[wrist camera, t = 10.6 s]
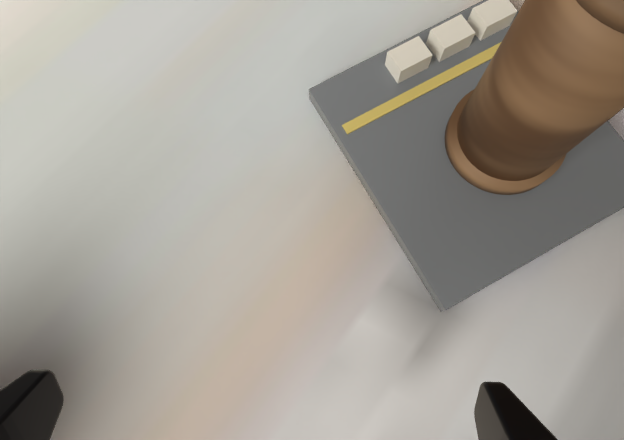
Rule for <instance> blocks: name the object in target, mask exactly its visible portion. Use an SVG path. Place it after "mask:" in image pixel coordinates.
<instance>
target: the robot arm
mask: <svg viewBox="0 0 624 440" xmlns="http://www.w3.org/2000/svg"><path fill="white" fill-rule="evenodd" d="M62 406H63V394H62V391H61V389H60V387H59V384H58V382H57V380H56V377H55V375H54V373H53V372H52V371H50V370H30V371H28V372H27V373H25V374H24V375H22V376H21V377H19V378H18V379H16V380H15V381H14V382H12V383H11V384H9V385H8V386H6V387H5V388H3V389H2V390H1V391H0V440H50V438H51V435H52V432H53V430H54V427H55V425H56V422H57V419H58V417H59V414H60V412H61V409H62ZM474 415H475V422H476V428H477V433H478V438H479V440H557V439H556V437H555V436H554V435H553V434H552V433H551V432H550V431H549V430H548V429H547V428H546V427H545V426H544V425H543V424H542V423H541V422H540V421H539V420H538V419H537V417H536V416H535V415H534V414H533V413H532V412H531V411H530V410H529V409H528V408H527V407H526V406H525V405H524V404H523V403H522V402H521V401H520V400H519V399H518V398H517V396H516V395H515V394H514V393H513V392H512V391H511V390H510V389H509V388H508V387H507V386H506V385H505V384H503V383H501V382H483V383H482V384H481V386H480V389H479V393H478V397H477V401H476V405H475V411H474Z"/></svg>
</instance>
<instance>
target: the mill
mask: <svg viewBox="0 0 624 440" xmlns="http://www.w3.org/2000/svg"><path fill="white" fill-rule="evenodd" d="M623 108H624V0H525V2H524V3H523V5H522V7H521V9H520V10H519V12H518V14H517V16H516V17H515V19H514V21H513V23H512V24H511V26H510V28H509V30H508V31H507V33H506V35H505V37H504V39H503V40H502V42H501V44H500V46H499V47H498V49H497V51H496V53H495V54H494V56H493V58H492V60H491V61H490V63H489V65H488V67H487V68H486V70H485V72H484V74H483V75H482V77H481V79H480V81H479V82H478V84H477V86H476V88H475V89H474V90H472V91H470V92H469V93H468V94H466V95H465V96H464V97H463V98H462V99H461V100H460V102H459V103H458V104H457V106H456V107H455V109H454V111H453V113H452V115H451V116H450V118H449V121H448V123H447V126H446V130H445V148H446V152H447V155H448V158H449V160H450V162H451V164H452V166H453V167H454V168H455V170H456V171H457V172H458V173H459V175H460V176H461V177H462V178H464V179H465V180H466V181H467V182H469V183H470V184H471V185H473V186H475V187H477V188H479V189H481V190H483V191H486V192H489V193H493V194H500V195H513V194H520V193H524V192H527V191H529V190H532V189H534V188H535V187H537V186H539V185H540V184H541V183H543V182H544V181H545V180H547V179H548V178H549V177H551V176H552V175H553V174H554V173H555V172H556V171H557V170H558V169H559V167H560V166H561V165H562V163H563V161H564V159H565V157H566V153H568V152H569V151H570V150H571V149H573V148H574V147H575V146H576V145H578V144H579V143H580V142H581V141H583V140H584V139H585V138H586V137H588V136H589V135H590V134H592V133H593V132H594V131H595V130H597V129H598V128H599V127H600V126H602V125H603V124H604V123H605V122H607V121H608V120H609V119H610V118H612V117H613V116H614V115H615V114H617V113H618V112H619V111H620V110H622V109H623Z"/></svg>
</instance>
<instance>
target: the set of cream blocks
mask: <svg viewBox="0 0 624 440" xmlns="http://www.w3.org/2000/svg"><path fill="white" fill-rule="evenodd" d="M517 12H518V11H517V9H516V8H515V7H514V6H513V4H512V3H511V2H510V1H509V0H488V1H486V2H484V3H482V4H480V5H478V6H476V7H474V8H473V9H472V11H471V13H470V16H469V18H468V20H467V21H466V20H465V18H464V17H463V16H462V14H460V15H458V16H456V17H454V18H453V19H451V20H449V21H447V22H445V23H443V24H441V25H439V26H437V27H435V28H433V29H431V30H430V33H429V36H428V39H427V42H426V44H427V46H428V47H429V49H430V50H431V51H432V53H433V54H434V55H435V57H436V58H437V60H438V61H439V62H441V61H442V60H444V59H446V58H448V57H450V56H452V55H454V54H456V53H458V52H460V51H462V50H464V49H466V48H468V47H469V46H470V44H471V42H472V39H473V37H474V35H476V36H477V37H478V39H479V40H480V41H481V40H483V39H485V38H487V37H489V36H491V35H493V34H495V33H496V32H498V31H500V30H502V29H504V28H506V27H508V26H510V24H511V22H512V20H513V19H514V17H515V15H516V13H517ZM427 46H426V45H425V44H424V42H423V41H422V40H421V38H420V37H419V36H417V37H415V38H413V39H411V40H409V41H407V42H405V43H404V44H402V45H400V46H398V47H396V48H394V49H392V50H390V51H388V52H387V56H386V61H385V66H386V67H387V69H388V70H389V72H390V73H391V75H392V76H393V78H394V79H395V81H396V82H397V83H400V82H402V81H404V80H406V79H408V78H410V77H412V76H414V75H415V74H417V73H419V72H421V71H423V70H425V69H427V68H428V67H429V64H430V61H431V58H432V53H431V52H430V51H429V49H428V48H427Z"/></svg>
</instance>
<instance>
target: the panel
mask: <svg viewBox="0 0 624 440" xmlns="http://www.w3.org/2000/svg"><path fill="white" fill-rule="evenodd" d="M486 1H488V0H483V1H481V2H479V3H477V4H475V5H473V6H471V7H469V8H467V9H465V10H464V11H462V12H460V13H458V14H456V15H454V16H452V17H450V18H448V19H446V20H444V21H442V22H440V23H438V24H436V25H434V26H432V27H430V28H428V29H426V30H424V31H422V32H420V33H418V34H416V35H414V36H413V37H411V38H409V39H407V40H405V41H403V42H401V43H399V44H397V45H395V46H393V47H391V48H389V49H387V50H385V51H383V52H381V53H379V54H377V55H375V56H373V57H371V58H369V59H367V60H365V61H363V62H361V63H360V64H358V65H356V66H354V67H352V68H350V69H348V70H346V71H344V72H342V73H340V74H338V75H336V76H334V77H332V78H330V79H328V80H326V81H324V82H322V83H320V84H318V85H316V86H314V87H312V88H310V89H309V97H310V100H311V102H312V103H313V105H314V107H315V108H316V110H317V111H318V113H319V115H320V116H321V118H322V119H323V121H324V123H325V124H326V126H327V128H328V129H329V131H330V132H331V134H332V136H333V137H334V139H335V141H336V142H337V144H338V145H339V147H340V149H341V150H342V152H343V154H344V155H345V157H346V158H347V160H348V162H349V163H350V165H351V167H352V168H353V170H354V171H355V173H356V175H357V176H358V178H359V180H360V181H361V183H362V184H363V186H364V188H365V189H366V191H367V193H368V194H369V196H370V197H371V199H372V201H373V202H374V204H375V205H376V207H377V209H378V210H379V212H380V214H381V215H382V217H383V218H384V220H385V222H386V223H387V225H388V227H389V228H390V230H391V231H392V233H393V235H394V236H395V238H396V240H397V241H398V243H399V244H400V246H401V248H402V249H403V251H404V253H405V254H406V256H407V257H408V259H409V261H410V262H411V264H412V266H413V267H414V269H415V270H416V272H417V274H418V275H419V277H420V279H421V280H422V282H423V283H424V285H425V287H426V288H427V290H428V291H429V293H430V295H431V296H432V298H433V300H434V301H435V303H436V304H437V306H438V308H439V309H440V311H445V310H447V309H449V308H450V307H452V306H454V305H456V304H457V303H459V302H461V301H463V300H464V299H466V298H468V297H469V296H471V295H473V294H475V293H476V292H478V291H480V290H482V289H483V288H485V287H487V286H489V285H490V284H492V283H494V282H495V281H497V280H499V279H501V278H502V277H504V276H506V275H508V274H509V273H511V272H513V271H515V270H516V269H518V268H520V267H521V266H523V265H525V264H527V263H528V262H530V261H532V260H534V259H535V258H537V257H539V256H541V255H542V254H544V253H546V252H547V251H549V250H551V249H553V248H554V247H556V246H558V245H560V244H561V243H563V242H565V241H567V240H568V239H570V238H572V237H573V236H575V235H577V234H579V233H580V232H582V231H584V230H586V229H587V228H589V227H591V226H593V225H594V224H596V223H598V222H599V221H601V220H603V219H605V218H606V217H608V216H610V215H612V214H613V213H615V212H617V211H619V210H620V209H622V208H624V140H623V139H622V138H621V137H620V135H619V134H618V133H617V132H616V130H615V129H614V128H613V127H612V126H611V124H610V123H609V122H608V121H607V122H605V123H604V124H603V125H602V126H600V127H599V128H598V129H597V130H595V131H594V132H593V133H592V134H590V135H589V136H588V137H586V138H585V139H584V140H583V141H581V142H580V143H579V144H578V145H576V146H575V147H574V148H573V149H571V150H570V151H569V152H568V153H566V157H565V159H564V161H563V163H562V165H561V166H560V167H559V169H558V170H557V171H556V172H555V173H554V174H553V175H552V176H551V177H549V178H548V179H547V180H545V181H544V182H543V183H541V184H540V185H539V186H537V187H535V188H534V189H532V190H529V191H527V192H524V193H520V194H513V195H500V194H493V193H489V192H486V191H483V190H481V189H479V188H477V187H475V186H473V185H471V184H470V183H469V182H467V181H466V180H465V179H464V178H462V177H461V176H460V175H459V173H458V172H457V171H456V170H455V168H454V167H453V166H452V164H451V162H450V160H449V158H448V155H447V152H446V148H445V130H446V126H447V123H448V121H449V118H450V116H451V115H452V113H453V111H454V109H455V107H456V106H457V104H458V103H459V102H460V100H461V99H462V98H463V97H464V96H465V95H466V94H468V93H469V92H470V91H472V90H474V89H475V88H476V86H477V84H478V82H479V81H480V79H481V77H482V75H483V74H484V72H485V70H486V68H487V67H488V65H489V63H490V61H491V60H492V58H493V56H494V54H495V53H496V51H497V49H498V47H499V46H500V44H501V42H502V40H503V39H504V37H505V35H506V33H507V31H508V30H509V28H510V26H511V24H512V23H513V21H514V19H515V17H516V16H517V14H518V12H517V13H516V15H515V17H514V19H513V20H512V22H511V24H510V26H508V27H506V28H504V29H502V30H500V31H498V32H496V33H495V34H493V35H491V36H489V37H487V38H485V39H483V40H481V41H480V40H479V39H478V37H477V36H476V35H474V37H473V39H472V42H471V44H470V46H469V47H468V48H466V49H464V50H462V51H460V52H458V53H456V54H454V55H452V56H450V57H448V58H446V59H444V60H442V61H441V62H439V61H438V60H437V58H436V57H435V55H434V54H433V53H432V51H431V50H430V49H429V47H428V46H427V44H426V42H427V39H428V36H429V33H430V30H431V29H433V28H435V27H437V26H439V25H441V24H443V23H445V22H447V21H449V20H451V19H453V18H454V17H456V16H458V15H460V14H462V16H463V17H464V18H465V20H466V21H467V20H468V18H469V16H470V13H471V11H472V9H473V8H474V7H476V6H478V5H480V4H482V3H484V2H486ZM509 1H510V0H509ZM513 6H514V5H513ZM517 11H518V10H517ZM417 36H419V37H420V38H421V40H422V41H423V42H424V44H425V45H426V46H427V48H428V49H429V51H430V52H431V53H432V58H431V61H430V64H429V67H428V68H427V69H425V70H423V71H421V72H419V73H417V74H415V75H414V76H412V77H410V78H408V79H406V80H404V81H402V82H400V83H397V82H396V81H395V79H394V78H393V76H392V75H391V73H390V72H389V70H388V69H387V67H386V66H385V61H386V56H387V52H388V51H390V50H392V49H394V48H396V47H398V46H400V45H402V44H404V43H405V42H407V41H409V40H411V39H413V38H415V37H417Z"/></svg>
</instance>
